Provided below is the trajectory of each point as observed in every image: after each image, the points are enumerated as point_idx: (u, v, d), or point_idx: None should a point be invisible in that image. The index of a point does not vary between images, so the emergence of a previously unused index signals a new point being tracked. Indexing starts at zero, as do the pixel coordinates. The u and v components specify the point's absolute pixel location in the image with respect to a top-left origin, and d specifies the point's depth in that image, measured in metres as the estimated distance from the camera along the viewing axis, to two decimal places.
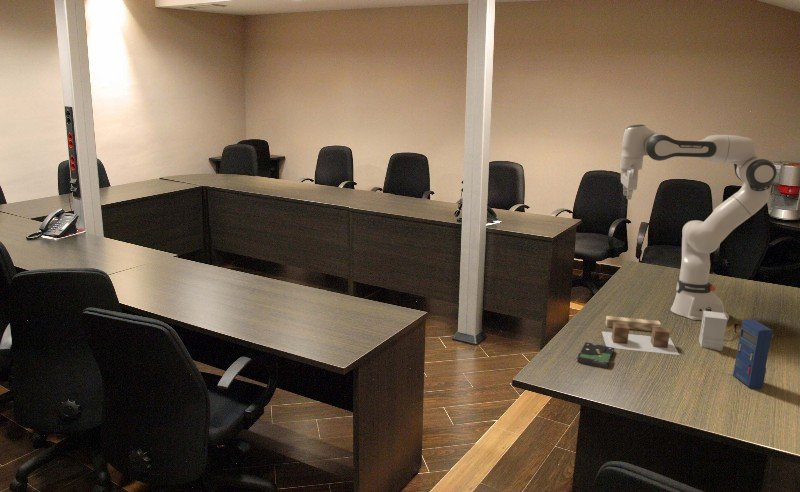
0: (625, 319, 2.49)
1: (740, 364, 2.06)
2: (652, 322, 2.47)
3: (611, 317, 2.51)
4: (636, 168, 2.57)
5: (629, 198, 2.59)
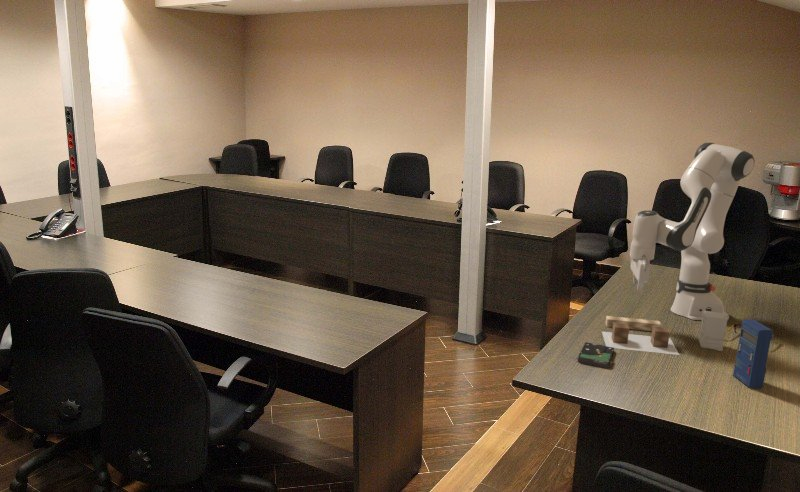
0: (625, 319, 2.49)
1: (740, 364, 2.06)
2: (652, 322, 2.47)
3: (611, 317, 2.51)
4: (648, 258, 2.38)
5: (640, 290, 2.40)
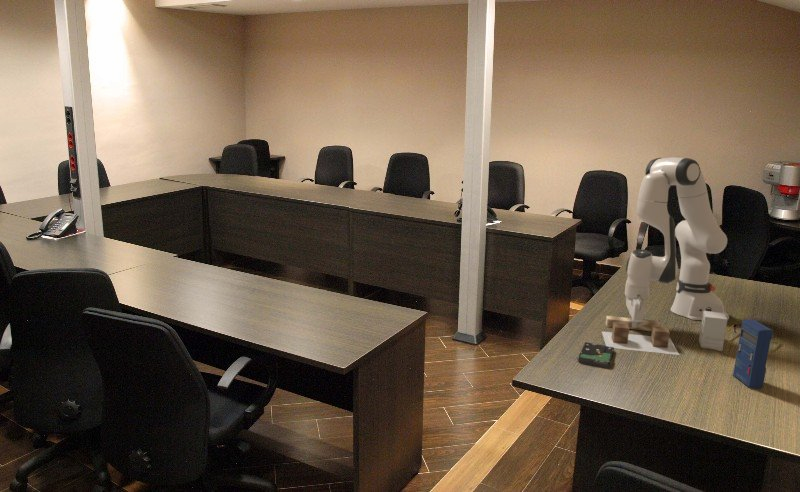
0: (625, 319, 2.49)
1: (740, 364, 2.06)
2: (652, 322, 2.47)
3: (611, 317, 2.51)
4: (642, 297, 2.42)
5: (634, 326, 2.46)
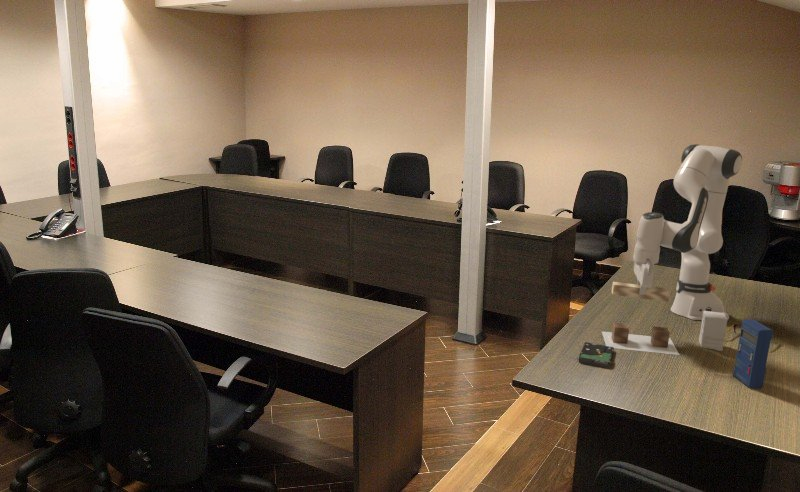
0: (633, 285, 2.37)
1: (740, 364, 2.06)
2: (661, 289, 2.35)
3: (618, 283, 2.39)
4: (652, 262, 2.30)
5: (642, 293, 2.34)
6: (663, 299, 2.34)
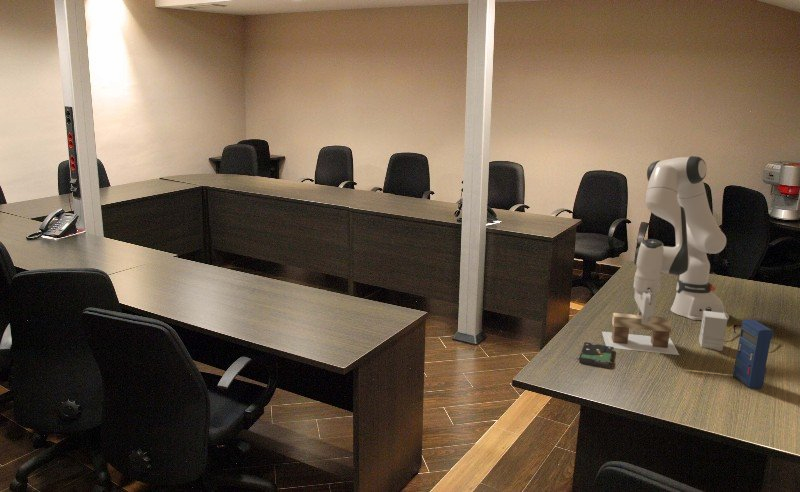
0: (633, 316, 2.32)
1: (740, 364, 2.06)
2: (663, 319, 2.30)
3: (618, 314, 2.34)
4: (653, 291, 2.25)
5: (644, 323, 2.28)
6: (665, 329, 2.29)
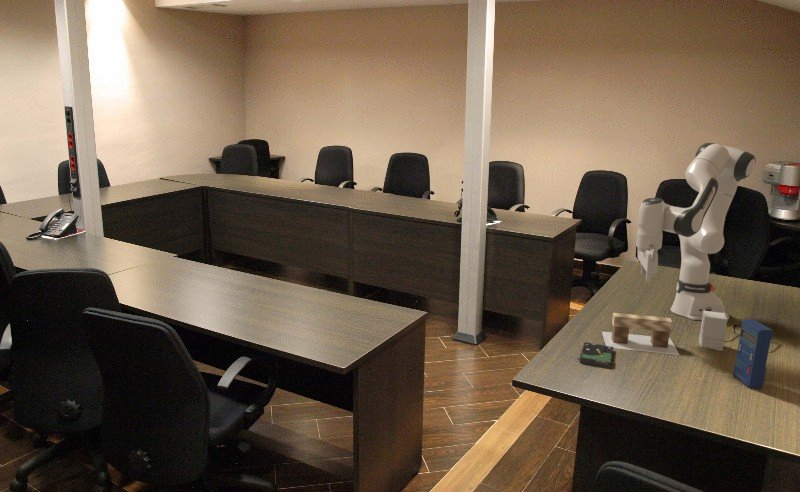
0: (633, 316, 2.32)
1: (740, 364, 2.06)
2: (663, 319, 2.30)
3: (618, 314, 2.34)
4: (655, 248, 2.30)
5: (649, 281, 2.32)
6: (665, 329, 2.29)
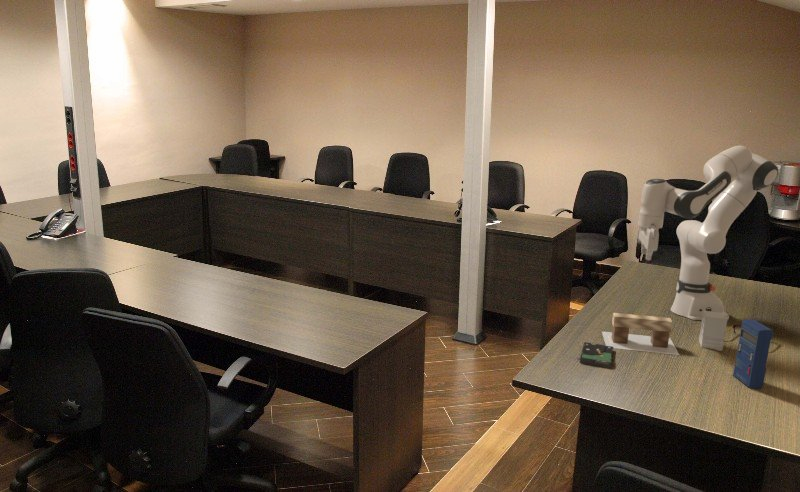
0: (633, 316, 2.32)
1: (740, 364, 2.06)
2: (663, 319, 2.30)
3: (618, 314, 2.34)
4: (656, 227, 2.37)
5: (649, 259, 2.39)
6: (665, 329, 2.29)
